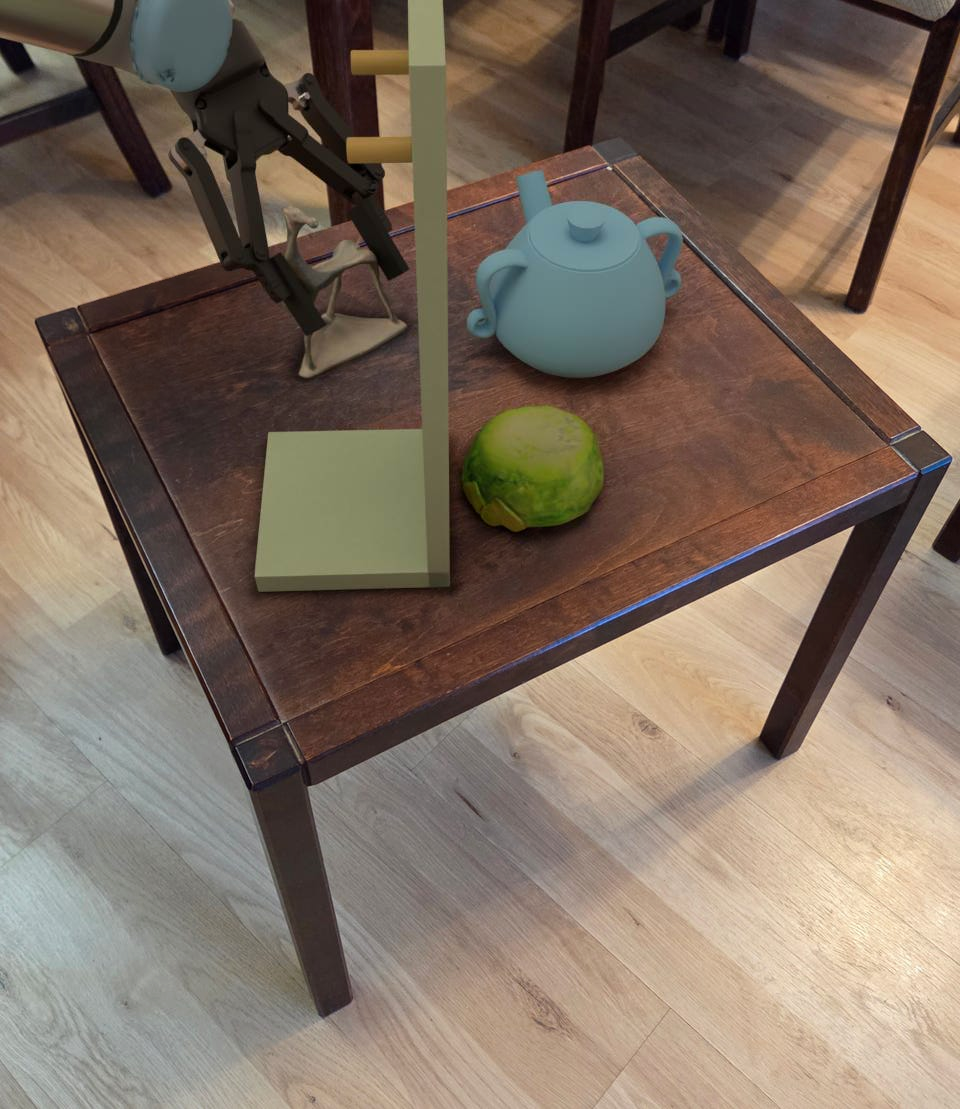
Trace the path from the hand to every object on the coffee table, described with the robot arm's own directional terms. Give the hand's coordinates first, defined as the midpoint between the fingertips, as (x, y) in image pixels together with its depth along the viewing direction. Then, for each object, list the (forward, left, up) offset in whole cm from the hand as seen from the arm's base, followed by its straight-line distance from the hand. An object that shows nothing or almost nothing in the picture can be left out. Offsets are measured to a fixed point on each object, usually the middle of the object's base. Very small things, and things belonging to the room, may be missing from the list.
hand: (358, 302), depth 87 cm
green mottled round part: (+14, -15, -6) cm, 21 cm away
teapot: (+18, +4, -6) cm, 19 cm away
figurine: (-2, +2, -6) cm, 7 cm away
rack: (0, -18, -6) cm, 19 cm away
